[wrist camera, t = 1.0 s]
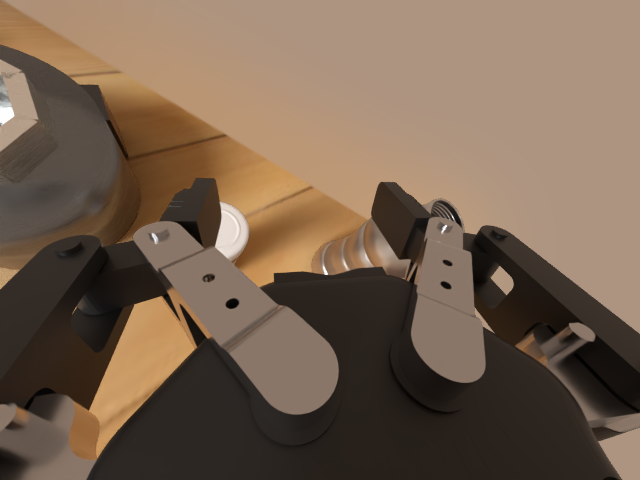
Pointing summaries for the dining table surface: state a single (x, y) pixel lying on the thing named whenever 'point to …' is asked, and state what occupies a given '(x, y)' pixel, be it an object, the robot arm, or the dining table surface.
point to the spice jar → (232, 232)
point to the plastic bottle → (372, 247)
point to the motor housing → (58, 162)
